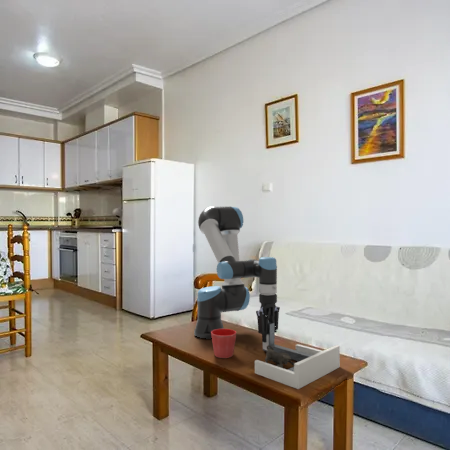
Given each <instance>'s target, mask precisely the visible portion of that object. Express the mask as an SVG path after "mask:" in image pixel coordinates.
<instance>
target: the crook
mask: <svg viewBox="0 0 450 450" xmlns="http://www.w3.org/2000/svg"><path fill="white" fill-rule="evenodd" d="M264 332H265V331H264ZM267 334H268V335H269V346H271V347H272V348H273V350H274V351H275V352H278V353H287V354H288V355H289V356H290V357H291V359H290V360H293V361H297V362H299V361H301V360H304V359H306V358H308V357H310V356H313V355H311V354H307V353H303V352H300V351H296V349H293V348H289V347H285V346H283V345H282V346H281V345H278V344H275V339H274V323H272V322H268V331H267ZM269 349H271V348H270V347H269ZM262 351H264V352H266V353H267V350H264V349H263V348H262ZM287 370H290V371H293V372H294V366H293V367H290V368H288V369H287Z"/></svg>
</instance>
